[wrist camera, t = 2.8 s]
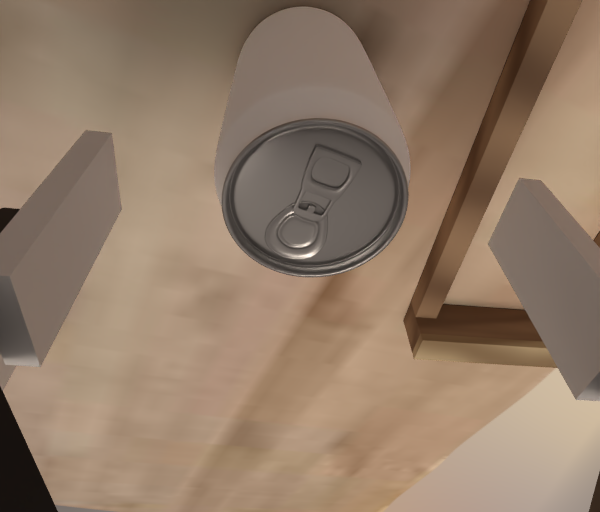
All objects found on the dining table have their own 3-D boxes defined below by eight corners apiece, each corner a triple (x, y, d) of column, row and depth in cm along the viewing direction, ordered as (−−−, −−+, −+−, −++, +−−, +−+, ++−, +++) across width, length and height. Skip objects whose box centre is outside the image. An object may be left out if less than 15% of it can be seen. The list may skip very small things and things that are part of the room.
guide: (554, -61, 20) (599, -51, 17) (800, -21, 21) (879, -5, 18) (403, 320, 35) (414, 359, 32) (552, 331, 36) (574, 368, 33)
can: (220, 109, 24) (182, 255, 15) (263, -22, 20) (248, 62, 11) (332, 152, 26) (360, 307, 17) (390, 38, 22) (468, 155, 13)
